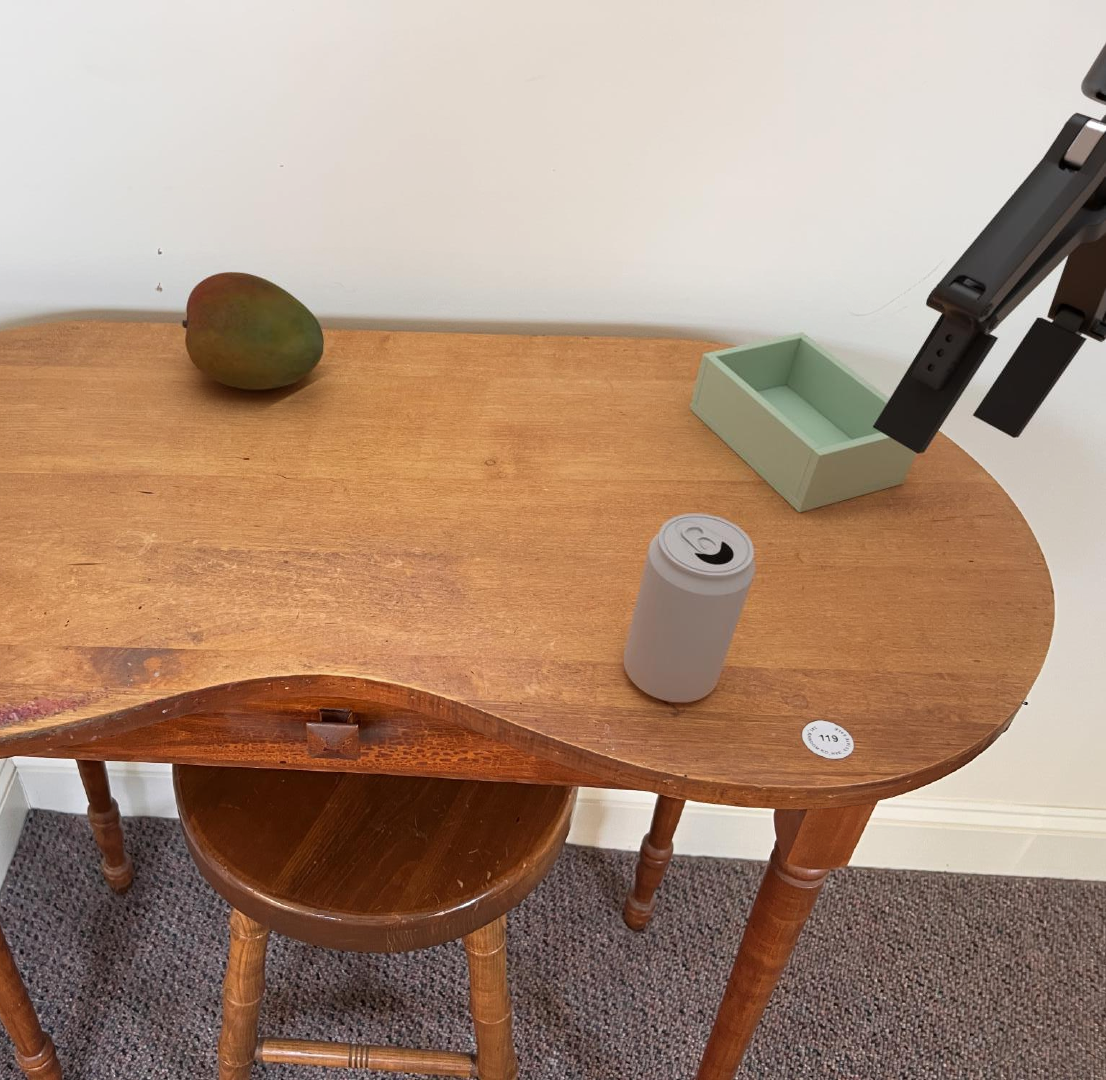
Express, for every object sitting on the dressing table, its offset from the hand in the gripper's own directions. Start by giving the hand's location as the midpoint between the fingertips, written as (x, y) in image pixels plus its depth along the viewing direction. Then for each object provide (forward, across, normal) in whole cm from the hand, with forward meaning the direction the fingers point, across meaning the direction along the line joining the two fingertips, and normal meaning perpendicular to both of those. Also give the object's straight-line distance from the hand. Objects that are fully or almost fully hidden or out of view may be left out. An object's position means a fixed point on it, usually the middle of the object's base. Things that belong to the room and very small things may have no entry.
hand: (949, 433), depth 58 cm
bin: (+13, -23, -18) cm, 32 cm away
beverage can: (+22, +4, -6) cm, 23 cm away
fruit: (+25, +7, -53) cm, 59 cm away
